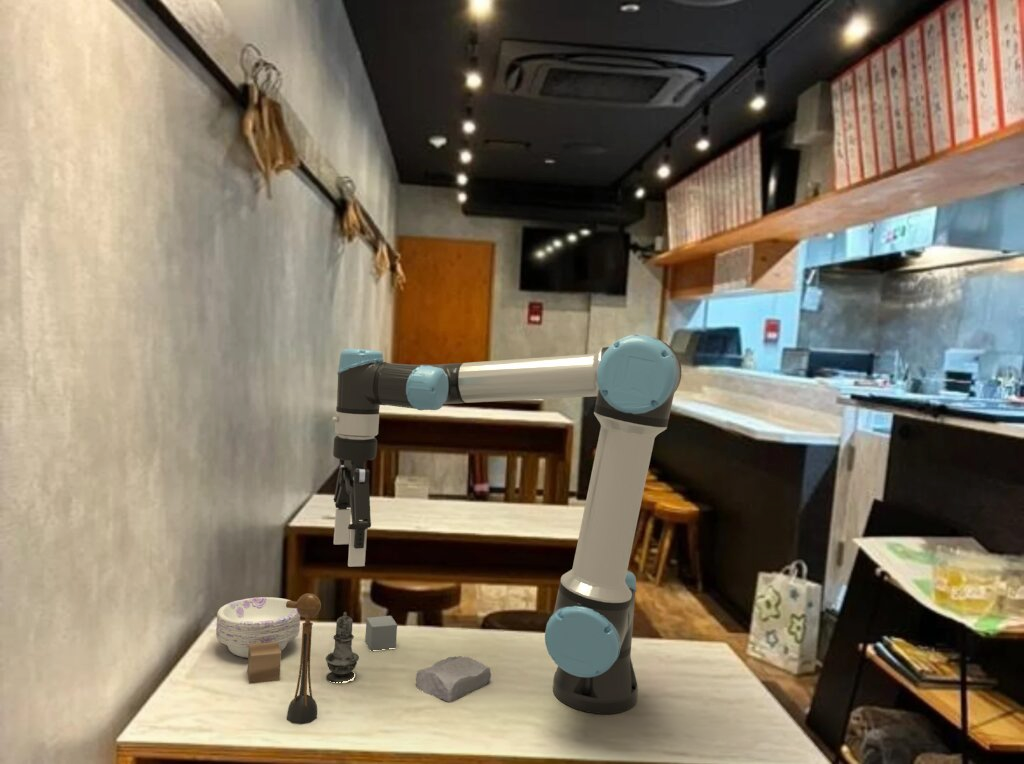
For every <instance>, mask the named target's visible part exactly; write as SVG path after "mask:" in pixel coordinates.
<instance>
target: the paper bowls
mask: <svg viewBox="0 0 1024 764" xmlns="http://www.w3.org/2000/svg"><path fill="white" fill-rule="evenodd" d="M287 601H291V599H287V598H280V597H272V596H262V597H261V596H260V597H251V598H243V599H239V600H234V601H230V602H228V603H226V604H223V606H221V607H220V608H219V609H218V611H217V612H216V628H215V630H216V634H215V635H216V640H217V641H218V642H220V644H224V645H225V646H227V648H228V650H229V651H230V652H231V653H232V654H233V655H234V656H235V655H236V656H238V657H241V658H247V659H248V651H249V644H260V643H271V642H278V644H279V647H280V651H281V652H282V651H283V650H284V649H285V648H286V647H287V645H288V643H289V642H291V641H293V640H294V639H295V638H297V637H298V636H299V634H300V630H301V629H300V626H301V616H300V615H299V613H298V612H297V609H295V608H287V607H286V603H287Z"/></svg>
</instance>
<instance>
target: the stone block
mask: <svg viewBox="0 0 1024 764" xmlns="http://www.w3.org/2000/svg"><path fill="white" fill-rule="evenodd" d="M491 676H492V673H491V668H490V667H489V666H488V665H485V664H484V663H482V662H480V661H479V660H477V659H474V658H472V657H471V656H470V657H469V656H460V655H459V656H449V657H447V658H445V659H441V660H439V661H437V662H435V663H434V664H432V665H431V666H429V667H428V666H427V667H426V668H423V669H419V670H417V673H416V676H415V683H416V688H417V687H418V688H419V691H421V692H422V691H423V692H422V693H424V694H427V695H429V696H432V695H433V696H432V697H435V698H437V699H439V700H442V699H443V701H444V702H446V703H452V702H454V700H455V701H456V699H457V700H459V699H461V698H463V697H464V695H465V696H467V695H469V694H470V692H471V693H472V691H473V692H475V691H476V690H478V688H479V689H480V687H481V688H482V686H483V687H485V686H486V685H487V684H488V683H489V682H490V680H491V678H492V677H491ZM484 685H485V686H484ZM418 688H417V689H418ZM468 693H469V694H468ZM466 694H467V695H466ZM462 696H463V697H462ZM460 697H461V698H460ZM458 698H459V699H458ZM451 701H452V702H451Z"/></svg>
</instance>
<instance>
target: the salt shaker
mask: <svg viewBox="0 0 1024 764" xmlns="http://www.w3.org/2000/svg"><path fill="white" fill-rule="evenodd" d="M347 614H348V613H347V611H344V612H343V615H342V616H339V617H338V618H337V620H336V627H335V634H334V635H333V637H332V638H333V640H334V648H333V651H332V652H330V653H328V654H327V655H326V656H325V661H326V665H327V668H328V670H329V671H330V672H328V673H327V674H326V678H327V679H326V678H325V679H326V680H327V682H329V681H331V682H335V683H336V682H338V683H339V682H341V683H342V682H343V681H348V680H350V679H352V678H353V677H354V673H355V672H354V670H355V668H356V666H357V664H358V661H359V659H360V656H359V655H358V654H357V653H356V652H354V651H353V649H352V645H353V639H354V638H355V636H354V635H353V619H352V617H350V616H349V615H347ZM353 672H354V673H353ZM331 682H330V683H331ZM335 683H334V684H335Z"/></svg>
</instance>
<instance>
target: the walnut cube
mask: <svg viewBox="0 0 1024 764" xmlns="http://www.w3.org/2000/svg"><path fill="white" fill-rule="evenodd" d="M281 657H282V651H280V647H279V644H278V642H271V643H260V644H249V651H248V658H247V669H246V670H247V672H246V673H247V678H248V682H249V683H248V684H258V683H259V684H260V683H269V682H278V681H280V679H281V661H282V660H281V659H282V658H281Z"/></svg>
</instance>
